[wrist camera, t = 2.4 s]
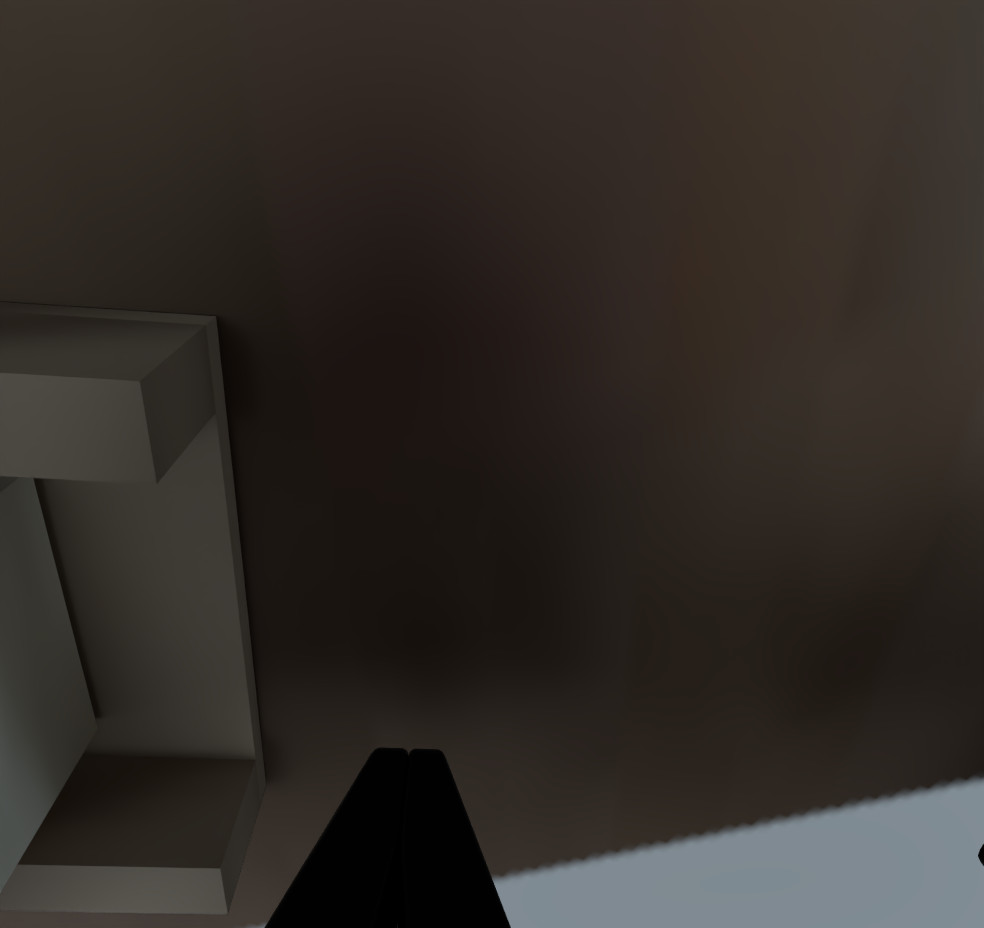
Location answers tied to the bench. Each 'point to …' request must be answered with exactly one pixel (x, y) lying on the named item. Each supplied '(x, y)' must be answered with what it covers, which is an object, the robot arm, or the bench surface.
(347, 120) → the bench surface
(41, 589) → the block
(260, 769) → the chute
